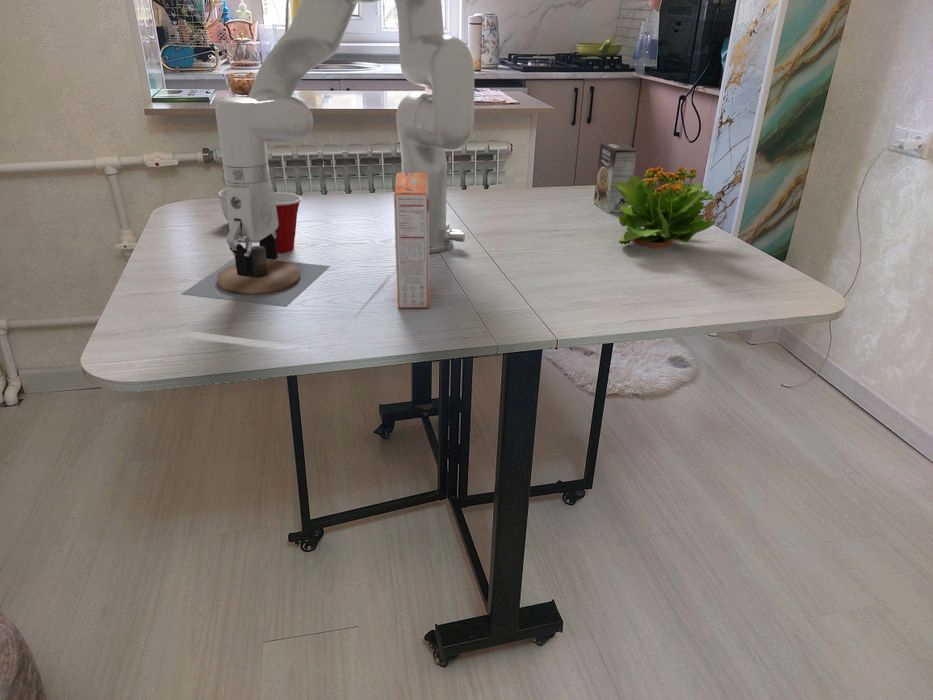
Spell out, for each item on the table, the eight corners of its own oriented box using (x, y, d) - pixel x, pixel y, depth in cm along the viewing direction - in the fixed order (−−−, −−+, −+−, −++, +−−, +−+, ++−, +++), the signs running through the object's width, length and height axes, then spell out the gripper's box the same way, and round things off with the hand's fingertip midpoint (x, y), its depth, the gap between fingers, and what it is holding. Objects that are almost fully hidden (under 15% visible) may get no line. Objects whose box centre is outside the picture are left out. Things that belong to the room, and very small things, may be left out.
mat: (330, 269, 134) (330, 266, 134) (286, 310, 117) (286, 306, 116) (237, 259, 137) (237, 256, 137) (182, 297, 120) (181, 293, 120)
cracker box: (397, 279, 131) (395, 171, 121) (428, 279, 131) (429, 171, 121) (395, 309, 118) (392, 191, 109) (429, 309, 119) (430, 192, 109)
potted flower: (583, 226, 164) (592, 153, 156) (670, 222, 170) (683, 151, 162) (630, 262, 143) (642, 180, 135) (727, 256, 149) (745, 176, 140)
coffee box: (592, 203, 183) (599, 142, 175) (614, 202, 184) (622, 141, 177) (606, 212, 175) (614, 149, 168) (628, 211, 177) (638, 149, 169)
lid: (313, 269, 132) (310, 239, 129) (279, 299, 119) (276, 267, 116) (242, 261, 134) (238, 232, 131) (201, 290, 121) (196, 258, 118)
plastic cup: (316, 248, 145) (312, 193, 139) (284, 264, 136) (278, 205, 130) (276, 240, 149) (270, 185, 143) (242, 254, 140) (234, 197, 134)
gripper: (242, 187, 109) (254, 286, 117) (288, 164, 124) (296, 253, 132) (200, 183, 110) (215, 281, 119) (250, 161, 125) (261, 249, 134)
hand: (258, 266), depth 125 cm, fingers open, 8 cm apart
